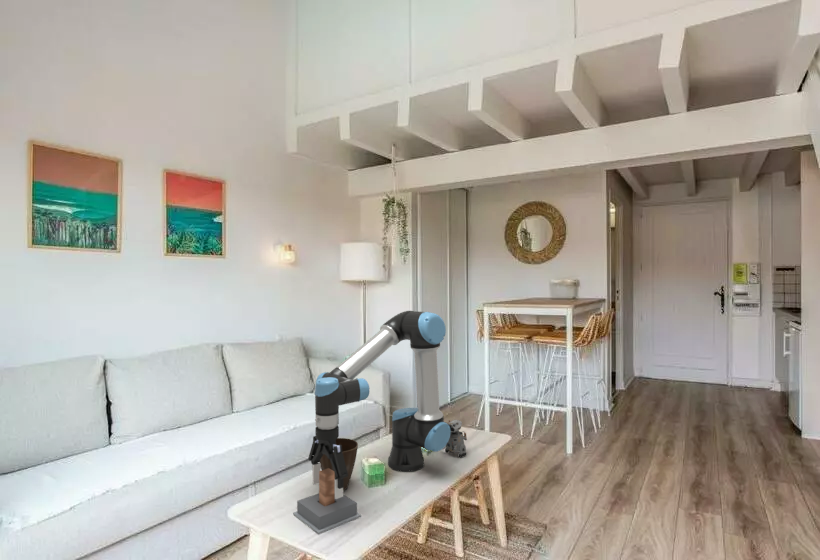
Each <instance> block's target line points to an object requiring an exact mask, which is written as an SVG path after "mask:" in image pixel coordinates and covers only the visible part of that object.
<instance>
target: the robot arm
mask: <svg viewBox="0 0 820 560" xmlns="http://www.w3.org/2000/svg"><path fill="white" fill-rule="evenodd" d="M446 333H447V328H446V324H445V321H444V320H443V318H442V317H441V316H440V315H439V314H437V313H434V312H430V311H419V310H417V311H415V310H405V311H402V312H400V313H397V314H396V315H394V316H393V317H391V318H389V319H388V320H386V322H384V323H383V324H382V325H380V328H379V330H378V331H377V333H375V334H374V335H373V336H372V337H370V338H369V339H368V340H367V341H366V342H364V343H363V344H362V345H361V346H360V347H358V348H357V349H356V350H355V351H354V352H353V353H352V354H350V355H349V356H348V357H347V358H345V359H344V360H343V361H342V362H341V363H339V364H338V365H337V366H336V367H334V368H333V369H331V371H329V372H328V371H327V372H326V371H325V372H321V373H320V374H319V375H318V376H317V378H316V379H315V387H314V396H315V398H314V399H315V401H314V403H315V419H314V421H315V433H314V434H315V435H314V436H313V437H312V444H311V447H310V451H309V455H308V461H309V462H310V463H311V464H312V466H311V467H312V469H311V470H312V485H317V484H318V485H319V471H321V463H320V462H321V461H320V459H321V458H322V456H323V454H325V455H326V456H327V458H328V459H330V462H331V464H332V467H333V470H334V472H335V475H336V478H335V499H338V498H341V497H343V494H344V491H343V486H344V485H343V484H344V478H345V477H348V473H347V469H346V465H345V461H344V457H343V453H342V445H336V439H337V438H339V435H340V434H339V433H340V431H339V430H340V429H339V428H340V427H339V424H340V422H339V421H340V419H339V418H340V417H339V416H340V413H339V410H340V409H339V408H340V406H343V405H348V404H353V403H359V402H361V401H364V400H366V399H367V398H369V396H370V384H369V383H368V381H367V380H366V379H365V378H362V377H361V378H359V377H358V376H359V375H360V374H361V373H362V372H363V371H364V370H365V369H367V368H368V367H369V366H370V365H372V363H374V362H375V361H376V360H377V359H378V358H379V357H380V356H382V355H383V354H384V353H385V352H386V351H387V350H389V348H391V347H392V346H397V345H398V344H399V343H400V342H402V341H407V340H408V341H409V342H410V343H409V346H410V347H409V348H410V349H411V350H413V351H414V364H415V367H414V368H415V384H416V385H415V386H416V403H417V407H403V408H398V409H396V410H394V411H393V412H392V419H391V437H392V438H391V440H392V441H391V450H390V452H389V456H388V457H387V466H388V468H389V469H391V470H394V471H396V472H404V473H405V472H406V473H408V472H409V473H410V472H415V471H419V470H421V469H423V468H424V467H425V458H424V455H423V451H422V450H423V449H421V447H423V448H425V449H426V450H431V451H432V452H433V453H434V452H439V451H442V450H443V449H445V448H444V447H445V446H446V444H447V442H448V441H449V438H450V433H451V431H450V427H449V425H448V424H447V422H445V420H444V419H445V418H444V417H445V416H444V412H442V411H441V410H440V393H439V374H438V371H439V370H438V356H437V354H438V353H437V351H438V350H439V348H441V343H442V342H443V340H444V339H445V338H444V337H445V336H446ZM357 377H358V378H357ZM333 453H334V454H333ZM332 454H333V455H332Z"/></svg>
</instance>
